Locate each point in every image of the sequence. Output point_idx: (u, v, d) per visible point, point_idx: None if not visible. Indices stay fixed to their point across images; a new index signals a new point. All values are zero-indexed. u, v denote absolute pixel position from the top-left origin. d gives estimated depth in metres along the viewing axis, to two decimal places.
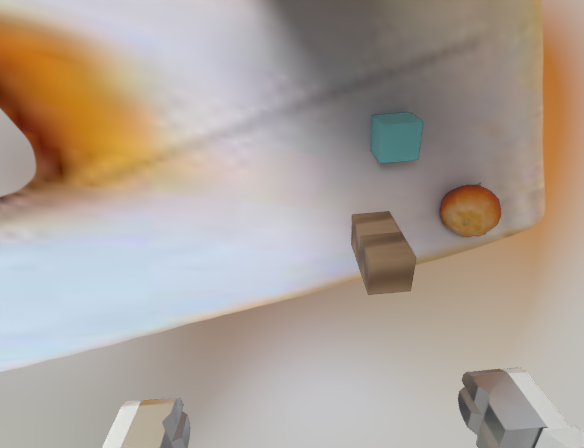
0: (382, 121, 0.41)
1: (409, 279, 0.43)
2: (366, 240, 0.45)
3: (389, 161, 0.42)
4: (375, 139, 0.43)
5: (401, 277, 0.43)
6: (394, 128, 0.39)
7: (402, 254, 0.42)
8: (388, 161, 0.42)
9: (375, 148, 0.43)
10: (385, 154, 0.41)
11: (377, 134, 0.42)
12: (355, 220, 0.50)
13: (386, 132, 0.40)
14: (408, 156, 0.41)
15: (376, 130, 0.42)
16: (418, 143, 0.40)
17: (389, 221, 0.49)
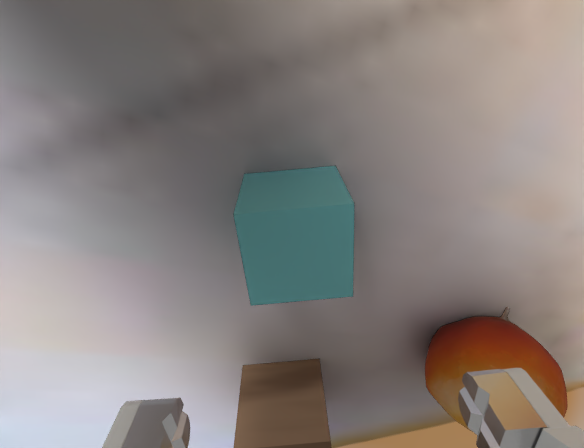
0: (248, 196, 0.15)
1: None
2: None
3: (275, 300, 0.15)
4: None
5: None
6: (271, 222, 0.13)
7: None
8: (272, 301, 0.15)
9: None
10: (260, 285, 0.15)
11: None
12: (243, 386, 0.23)
13: (249, 233, 0.14)
14: (325, 289, 0.15)
15: None
16: (348, 259, 0.14)
17: (311, 397, 0.22)
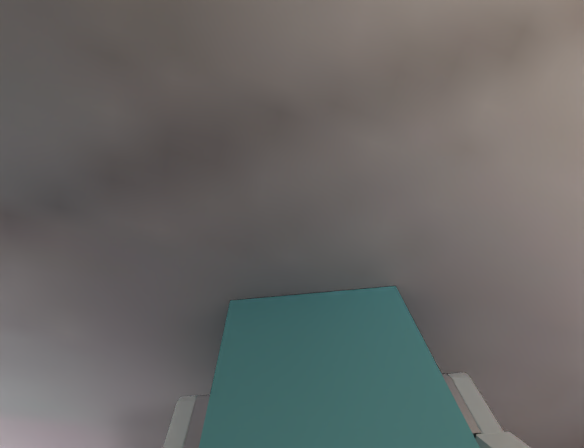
0: (229, 401, 0.07)
1: None
2: None
3: None
4: None
5: None
6: None
7: None
8: None
9: None
10: None
11: None
12: None
13: None
14: None
15: None
16: None
17: None
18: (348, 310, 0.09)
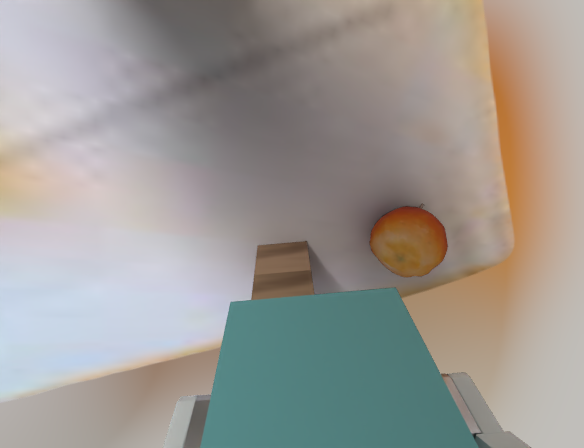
0: (231, 403, 0.07)
1: None
2: (259, 282, 0.32)
3: None
4: None
5: None
6: None
7: None
8: None
9: None
10: None
11: None
12: (258, 253, 0.37)
13: None
14: None
15: None
16: None
17: (300, 255, 0.36)
18: (348, 311, 0.09)
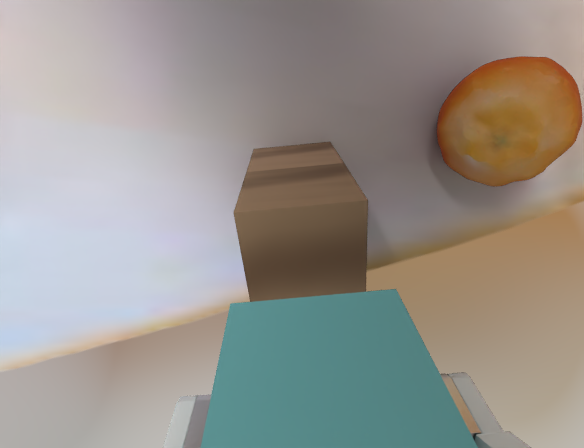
0: (231, 405, 0.07)
1: (357, 271, 0.16)
2: (254, 178, 0.18)
3: None
4: None
5: (333, 266, 0.16)
6: None
7: (329, 197, 0.15)
8: None
9: None
10: None
11: None
12: (254, 154, 0.23)
13: None
14: None
15: None
16: None
17: (323, 152, 0.22)
18: (348, 313, 0.09)
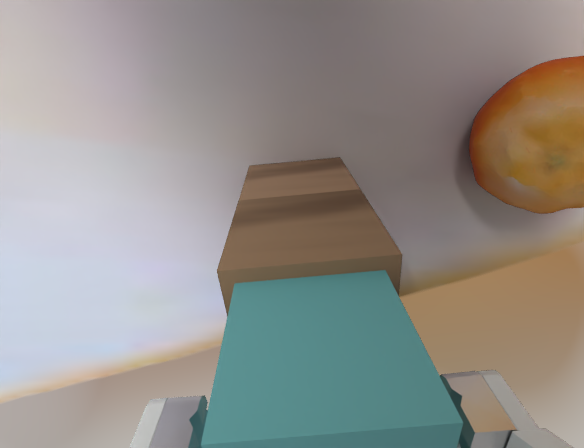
0: (236, 365, 0.08)
1: None
2: (248, 210, 0.14)
3: None
4: None
5: None
6: None
7: (348, 246, 0.11)
8: None
9: None
10: None
11: None
12: (249, 174, 0.19)
13: None
14: None
15: None
16: None
17: (333, 173, 0.18)
18: (341, 290, 0.10)
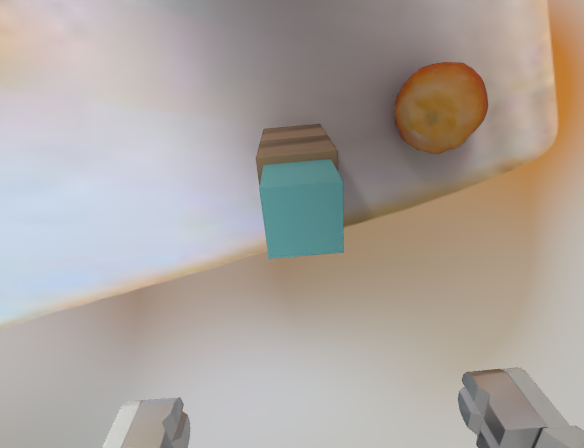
0: (268, 178, 0.21)
1: None
2: (266, 143, 0.27)
3: (287, 255, 0.21)
4: None
5: None
6: (285, 194, 0.19)
7: (315, 150, 0.24)
8: (285, 255, 0.21)
9: None
10: (276, 242, 0.21)
11: None
12: (264, 132, 0.32)
13: (270, 202, 0.19)
14: (323, 246, 0.21)
15: None
16: (339, 222, 0.20)
17: (314, 129, 0.31)
18: (310, 164, 0.23)
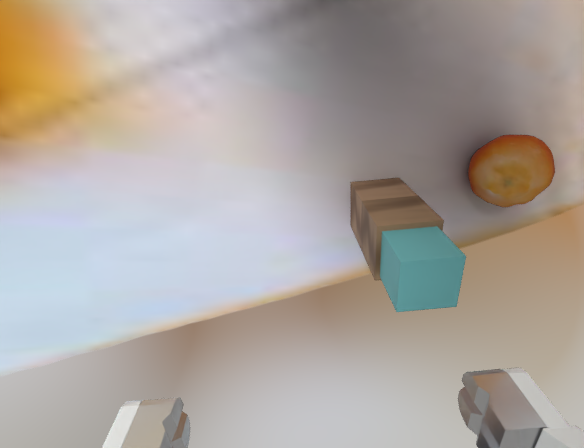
0: (399, 249, 0.26)
1: None
2: (370, 205, 0.33)
3: (411, 309, 0.26)
4: (387, 269, 0.28)
5: None
6: (419, 266, 0.25)
7: (422, 218, 0.29)
8: (409, 309, 0.26)
9: (388, 282, 0.28)
10: (405, 300, 0.26)
11: (391, 266, 0.27)
12: (355, 187, 0.38)
13: (406, 271, 0.25)
14: (441, 302, 0.26)
15: (389, 259, 0.27)
16: (457, 285, 0.26)
17: (400, 187, 0.36)
18: (423, 232, 0.28)
